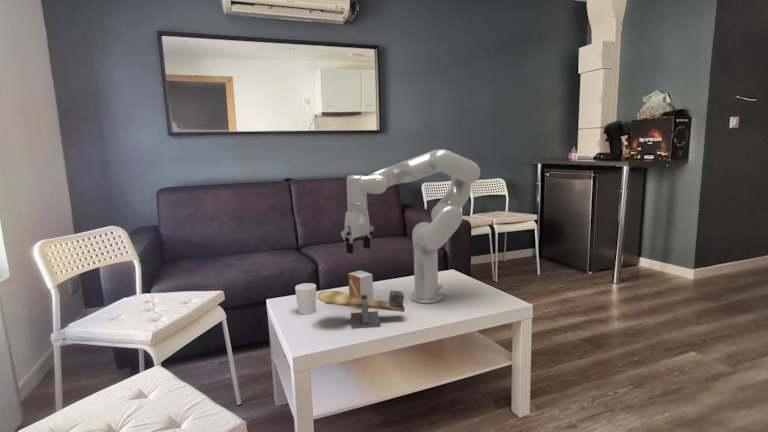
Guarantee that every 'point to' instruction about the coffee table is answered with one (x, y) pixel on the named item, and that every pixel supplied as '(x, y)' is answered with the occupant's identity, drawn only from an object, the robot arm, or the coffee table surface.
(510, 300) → the coffee table surface
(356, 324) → the beam stand
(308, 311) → the white cup
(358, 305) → the beam
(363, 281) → the small box
